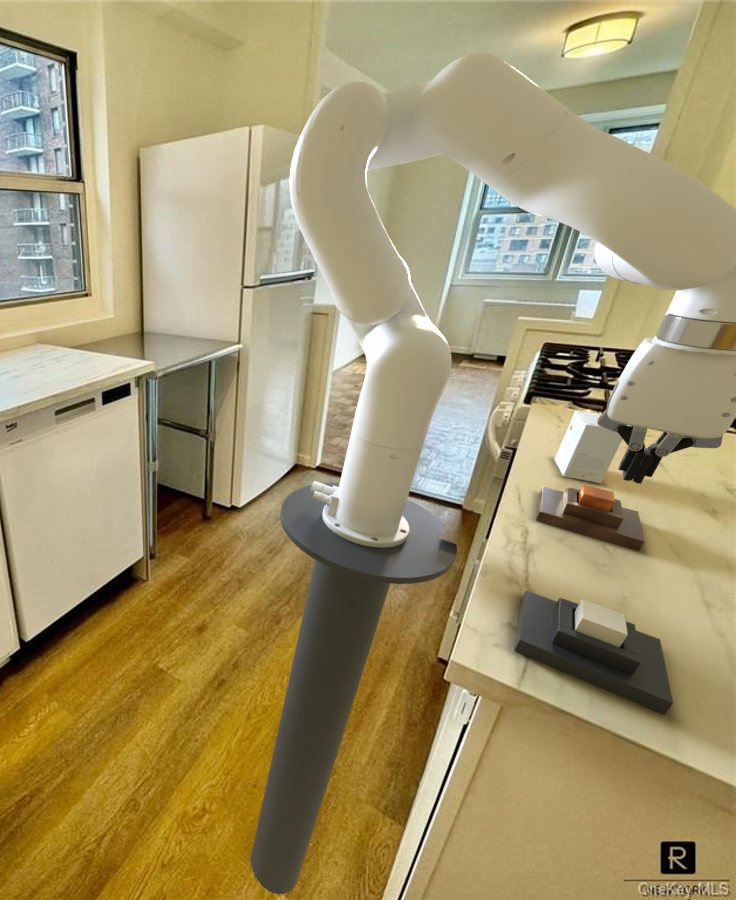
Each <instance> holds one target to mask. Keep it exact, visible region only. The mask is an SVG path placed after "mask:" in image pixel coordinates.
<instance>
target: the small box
mask: <svg viewBox="0 0 736 900" xmlns="http://www.w3.org/2000/svg"><path fill="white" fill-rule="evenodd" d="M601 414H602V413H596V412H589V411H582V410H575V411H574V413H573V415H572V418H571V420H570V422H569V425H568V427H567V428H566V432H565V433H564V436H563V439H562V440H561V442H560V443H561V444H560V446H559V448H558V450H557V453H556V454H555V457H554V462H555V463H556V466H557V467H558V470H559V471H560V473H561V475H562V477H565V478H571V479H576V480H581V481H587V482H591V483H596V484H597V483H598V484H601V483H603V480H604V478H605V476H606V474H607V472H608V470H609V468H610V466H611V463H612V462H613V459H614V458H615V456H616V453H617V451H618V449H619V447H620V445H621V443H622V442H623V439H622V437H621V436H620V435H619V433H617V432H615V431H611V430H609V429H606V428H604V427H601V426H599V425H598V424H597V420H598V418H599V417H600V416H601Z"/></svg>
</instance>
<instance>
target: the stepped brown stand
mask: <svg viewBox="0 0 736 900" xmlns="http://www.w3.org/2000/svg"><path fill="white" fill-rule="evenodd" d="M580 490H581V489H579V488H574V487H570V486H566V489H565V491H562V490H558V489H554V488H551V487H546V486H542V487H541V490H540V491H539V494H538V502H537V509H536V518H535V520H536V521H538V522H540V523H543V524H547V525H550V526H553V527H557V528H561V529H564V530H567V531H570V532H573V533H577V534H581V535H583V536H588V537H591V538H595V539H598V540H601V541H603V542H608V543H611V544H615V545H619V546H621V547H625V548H628V549H631V550H634V551H637V552H638V551H641V549H642V547H643V546H644V544H645V541H646V540H645V537H644V531H643V527H642V523H641V519H640V514H639V511H637V510H634V509H630V508H626V507H623V506H622V501H621V499H616V498H614V499H615V503H614V504H613V506H612V508H611V510H610V512H609V511H606V510H602V509H598V508H594V507H591V506H587V505H583V504H579V503H578V494H579V492H580Z"/></svg>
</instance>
